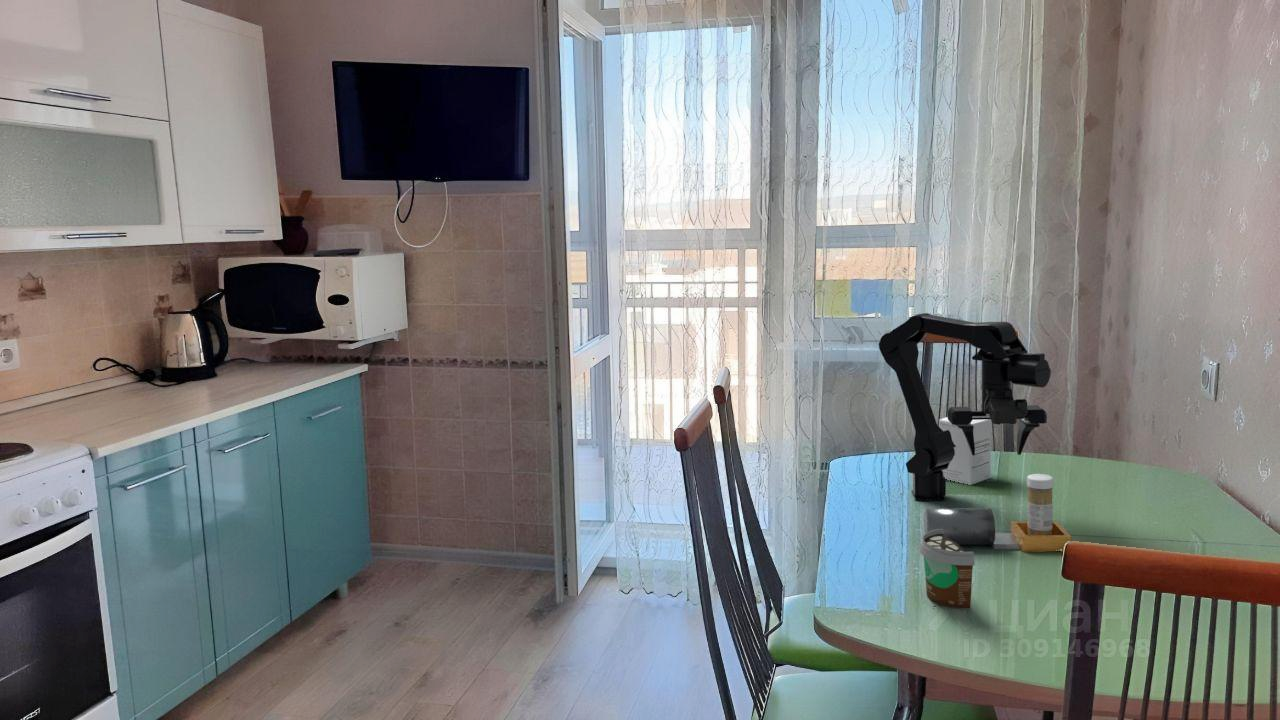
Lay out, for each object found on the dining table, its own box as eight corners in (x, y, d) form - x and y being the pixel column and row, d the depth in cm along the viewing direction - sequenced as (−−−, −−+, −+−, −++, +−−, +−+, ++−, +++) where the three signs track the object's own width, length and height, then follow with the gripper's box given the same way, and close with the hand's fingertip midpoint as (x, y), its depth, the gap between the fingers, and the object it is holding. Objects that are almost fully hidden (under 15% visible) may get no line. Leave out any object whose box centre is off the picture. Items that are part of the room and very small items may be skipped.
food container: (907, 585, 152) (907, 530, 150) (941, 582, 152) (941, 527, 151) (937, 615, 140) (937, 556, 138) (974, 612, 140) (974, 553, 139)
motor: (930, 551, 167) (930, 516, 166) (923, 535, 175) (923, 502, 174) (1070, 552, 163) (1071, 516, 162) (1056, 536, 171) (1057, 501, 170)
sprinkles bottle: (1043, 538, 170) (1044, 472, 168) (1057, 546, 166) (1058, 478, 164) (1021, 540, 170) (1022, 474, 168) (1034, 548, 165) (1035, 480, 163)
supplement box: (937, 478, 213) (937, 419, 211) (958, 471, 219) (958, 413, 216) (970, 486, 206) (970, 424, 204) (991, 478, 211) (992, 418, 209)
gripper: (957, 390, 175) (957, 465, 178) (1055, 388, 172) (1054, 464, 175) (947, 380, 186) (947, 451, 188) (1039, 378, 183) (1038, 450, 185)
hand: (995, 454), depth 184 cm, fingers open, 9 cm apart
